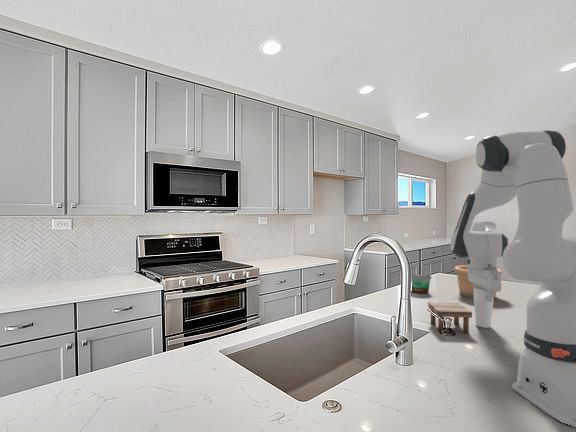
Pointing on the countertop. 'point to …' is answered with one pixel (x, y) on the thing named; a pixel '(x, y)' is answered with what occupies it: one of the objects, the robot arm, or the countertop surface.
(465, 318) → the walnut stool
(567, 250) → the robot arm
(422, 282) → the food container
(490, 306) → the drinking glass
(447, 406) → the countertop surface
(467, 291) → the pottery
